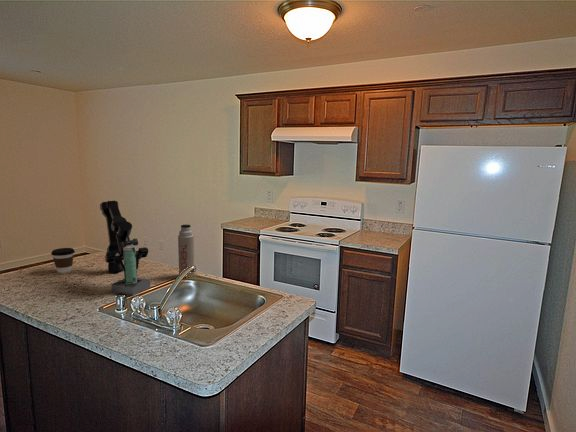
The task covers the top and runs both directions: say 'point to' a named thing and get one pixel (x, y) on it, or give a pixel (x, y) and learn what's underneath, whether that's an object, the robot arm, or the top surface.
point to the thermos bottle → (186, 248)
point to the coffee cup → (63, 259)
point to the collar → (130, 286)
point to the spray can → (130, 264)
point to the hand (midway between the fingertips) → (131, 270)
